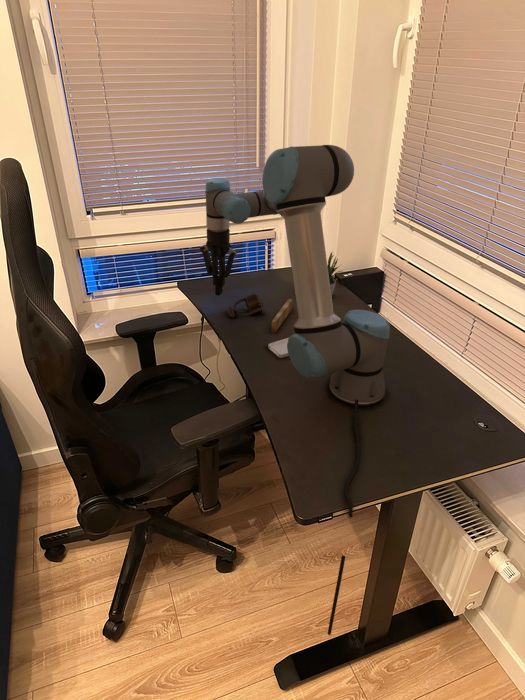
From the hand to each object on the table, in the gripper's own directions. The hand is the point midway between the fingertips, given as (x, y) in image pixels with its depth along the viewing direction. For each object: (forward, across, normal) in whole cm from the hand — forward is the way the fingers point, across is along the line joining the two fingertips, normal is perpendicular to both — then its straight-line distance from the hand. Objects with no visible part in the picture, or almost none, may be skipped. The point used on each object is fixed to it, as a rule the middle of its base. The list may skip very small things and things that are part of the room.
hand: (218, 293), depth 176 cm
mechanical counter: (+6, -10, 0) cm, 12 cm away
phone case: (+5, -33, +15) cm, 36 cm away
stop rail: (+5, -24, 0) cm, 24 cm away
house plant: (+6, -32, -26) cm, 41 cm away
